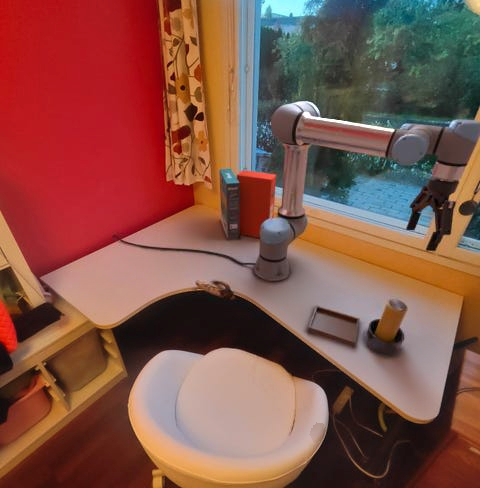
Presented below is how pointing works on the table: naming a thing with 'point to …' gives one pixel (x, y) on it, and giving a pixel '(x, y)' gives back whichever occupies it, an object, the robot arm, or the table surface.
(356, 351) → the table surface
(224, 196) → the cake mix box
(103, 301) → the table surface
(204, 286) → the bone fish hook
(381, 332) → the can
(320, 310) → the tray
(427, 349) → the table surface
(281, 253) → the robot arm
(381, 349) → the bowl
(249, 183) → the file binder
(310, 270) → the table surface
